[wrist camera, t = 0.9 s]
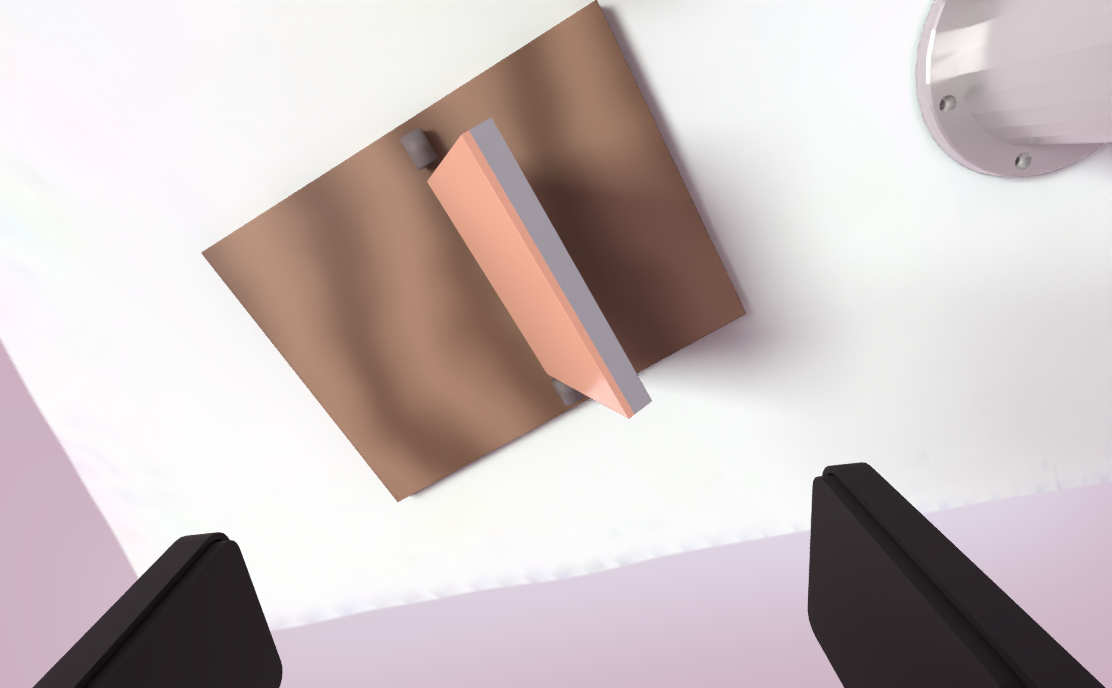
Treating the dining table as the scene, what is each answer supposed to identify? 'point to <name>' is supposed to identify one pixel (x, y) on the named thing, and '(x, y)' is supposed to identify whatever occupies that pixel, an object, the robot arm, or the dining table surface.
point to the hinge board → (454, 274)
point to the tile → (533, 269)
